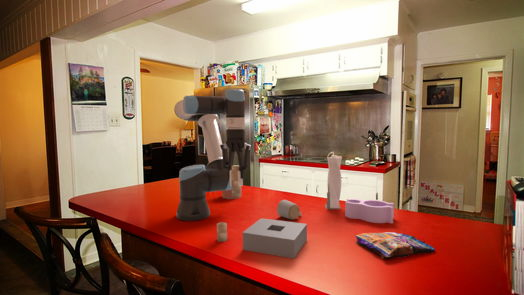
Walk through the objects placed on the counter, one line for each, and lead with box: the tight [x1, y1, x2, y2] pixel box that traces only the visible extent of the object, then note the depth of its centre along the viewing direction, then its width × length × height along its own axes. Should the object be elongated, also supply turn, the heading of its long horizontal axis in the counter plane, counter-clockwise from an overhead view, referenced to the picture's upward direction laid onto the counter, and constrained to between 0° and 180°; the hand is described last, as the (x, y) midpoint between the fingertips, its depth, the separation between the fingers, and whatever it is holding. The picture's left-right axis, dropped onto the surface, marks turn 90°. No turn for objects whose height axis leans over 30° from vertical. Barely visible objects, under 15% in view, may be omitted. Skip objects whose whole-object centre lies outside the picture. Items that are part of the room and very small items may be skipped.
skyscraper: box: [324, 151, 343, 210], centre depth 149 cm, size 8×8×28 cm
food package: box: [355, 231, 436, 259], centre depth 101 cm, size 22×25×4 cm
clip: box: [344, 198, 395, 224], centre depth 132 cm, size 20×12×7 cm, turn 64°
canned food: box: [221, 189, 242, 200], centre depth 173 cm, size 11×11×12 cm
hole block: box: [242, 218, 308, 259], centre depth 103 cm, size 18×16×6 cm
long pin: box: [232, 164, 242, 196], centre depth 120 cm, size 4×4×12 cm
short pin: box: [216, 221, 228, 243], centre depth 108 cm, size 4×4×6 cm
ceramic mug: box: [276, 199, 302, 221], centre depth 134 cm, size 11×8×8 cm
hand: (236, 185), depth 121 cm, fingers closed on long pin, 3 cm apart
